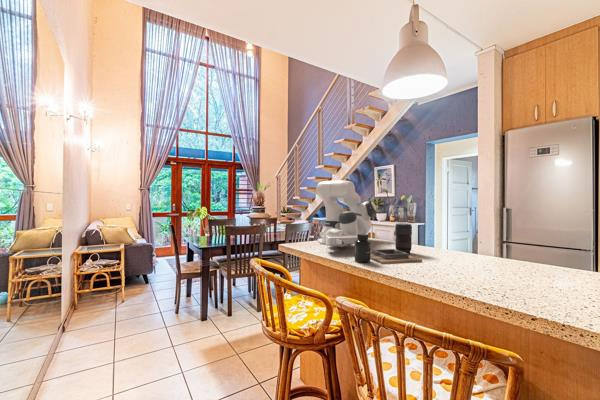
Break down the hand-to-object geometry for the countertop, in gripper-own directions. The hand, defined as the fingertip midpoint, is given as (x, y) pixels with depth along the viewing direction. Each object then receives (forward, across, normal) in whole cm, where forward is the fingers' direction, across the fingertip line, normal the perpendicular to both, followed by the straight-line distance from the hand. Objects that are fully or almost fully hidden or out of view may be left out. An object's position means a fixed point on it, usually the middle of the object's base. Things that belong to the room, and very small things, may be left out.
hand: (351, 242), depth 137 cm
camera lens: (-2, -30, -7) cm, 31 cm away
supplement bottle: (+12, 0, -7) cm, 14 cm away
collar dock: (+8, -16, -7) cm, 19 cm away
